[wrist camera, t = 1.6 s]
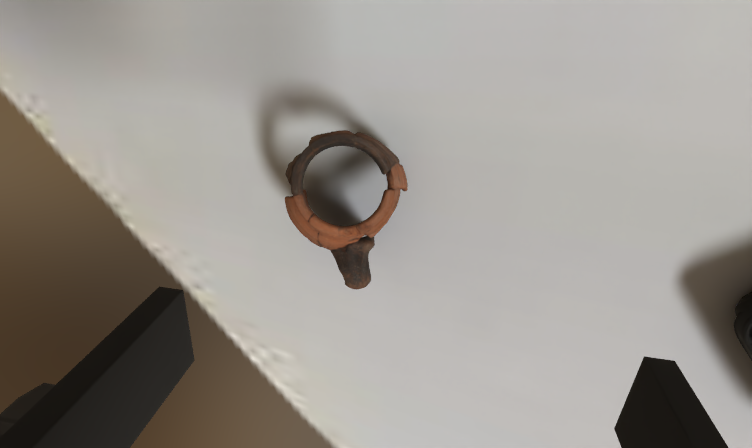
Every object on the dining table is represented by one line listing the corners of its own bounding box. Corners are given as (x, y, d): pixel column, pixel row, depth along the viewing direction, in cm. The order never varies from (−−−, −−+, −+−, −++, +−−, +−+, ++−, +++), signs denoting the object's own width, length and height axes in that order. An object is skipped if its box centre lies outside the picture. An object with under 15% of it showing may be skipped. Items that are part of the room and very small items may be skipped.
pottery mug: (281, 162, 39) (258, 143, 31) (386, 130, 39) (390, 103, 31) (321, 294, 39) (309, 311, 31) (426, 262, 39) (441, 271, 31)
